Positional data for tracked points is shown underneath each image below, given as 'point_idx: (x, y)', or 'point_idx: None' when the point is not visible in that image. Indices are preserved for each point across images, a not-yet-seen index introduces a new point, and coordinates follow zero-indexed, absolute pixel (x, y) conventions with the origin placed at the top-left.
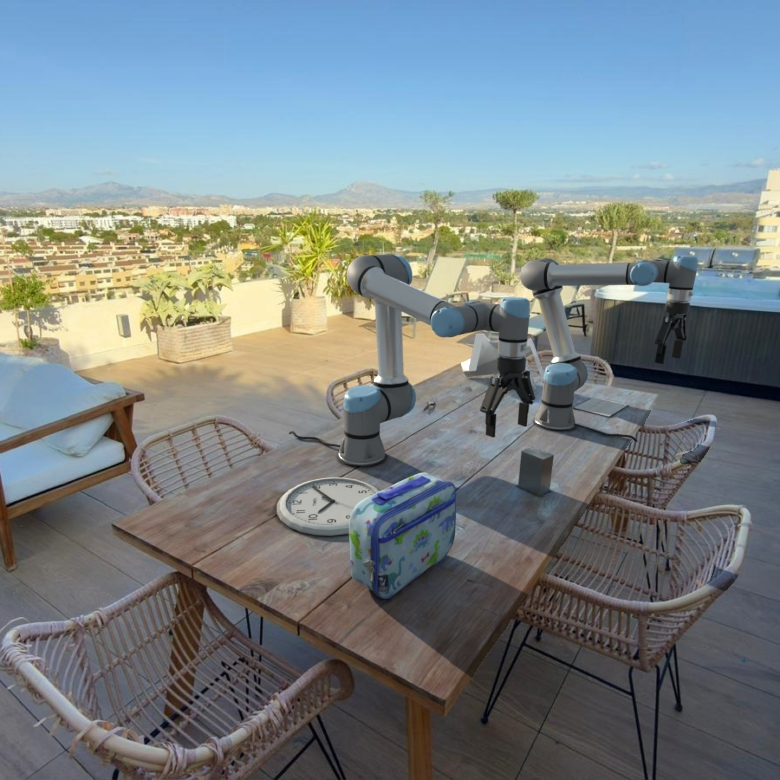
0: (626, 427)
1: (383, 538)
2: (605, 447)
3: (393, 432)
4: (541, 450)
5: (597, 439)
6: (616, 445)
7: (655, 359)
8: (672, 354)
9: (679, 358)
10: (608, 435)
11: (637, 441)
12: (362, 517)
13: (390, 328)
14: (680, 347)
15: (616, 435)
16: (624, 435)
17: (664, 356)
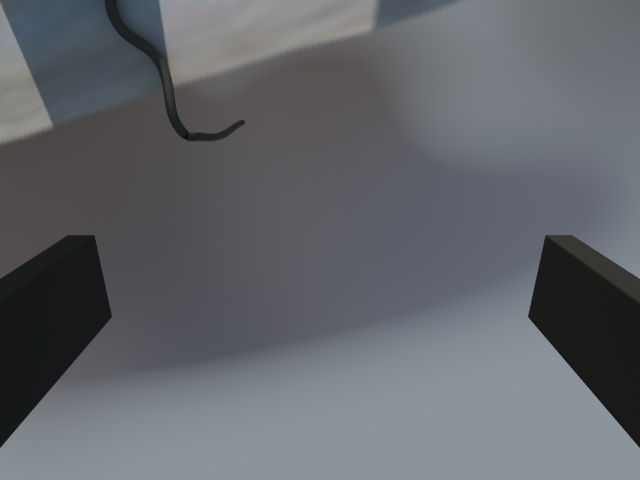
0: (294, 19)
1: None
2: (15, 85)
3: None
4: None
5: (51, 13)
6: (73, 102)
7: (45, 252)
8: (565, 253)
9: (534, 316)
10: (115, 28)
11: (181, 136)
12: None
13: None
14: (621, 408)
15: (146, 53)
16: (162, 82)
17: (53, 374)
